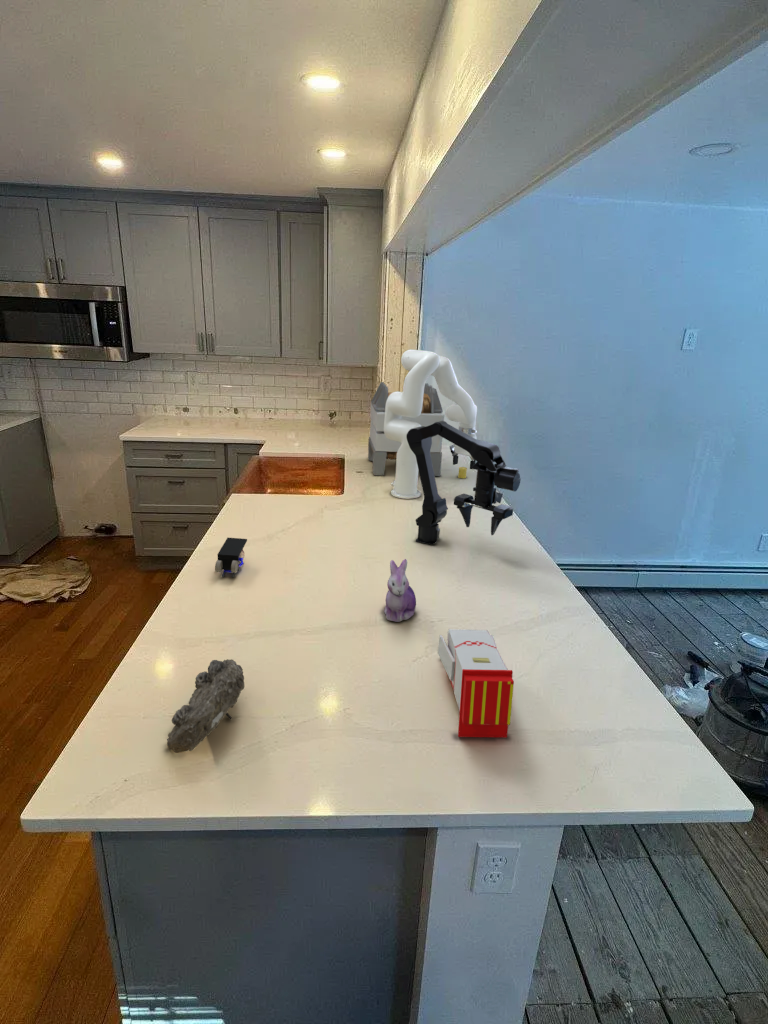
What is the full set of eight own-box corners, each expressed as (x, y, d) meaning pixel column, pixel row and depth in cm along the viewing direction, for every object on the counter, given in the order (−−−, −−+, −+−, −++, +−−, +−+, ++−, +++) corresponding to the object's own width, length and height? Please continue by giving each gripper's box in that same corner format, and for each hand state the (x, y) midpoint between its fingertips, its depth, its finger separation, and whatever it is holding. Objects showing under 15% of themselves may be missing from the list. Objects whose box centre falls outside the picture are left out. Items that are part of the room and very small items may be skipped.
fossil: (192, 660, 117) (244, 628, 112) (224, 691, 120) (276, 661, 115) (142, 746, 98) (202, 712, 93) (182, 779, 101) (242, 748, 96)
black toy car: (238, 584, 162) (249, 557, 175) (236, 562, 158) (247, 536, 172) (215, 584, 161) (227, 556, 175) (212, 561, 158) (225, 535, 171)
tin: (465, 478, 269) (466, 469, 268) (457, 478, 270) (458, 468, 268) (466, 476, 273) (467, 467, 271) (458, 475, 273) (459, 466, 272)
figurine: (392, 627, 141) (395, 572, 136) (374, 608, 149) (376, 556, 144) (425, 619, 145) (429, 566, 140) (405, 601, 154) (408, 550, 149)
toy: (488, 613, 130) (523, 677, 101) (484, 667, 133) (517, 744, 104) (435, 612, 130) (455, 676, 101) (432, 666, 133) (451, 743, 103)
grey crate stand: (367, 457, 298) (369, 379, 284) (428, 458, 302) (433, 380, 288) (373, 475, 266) (376, 388, 253) (441, 476, 270) (448, 390, 256)
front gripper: (524, 486, 177) (518, 532, 182) (473, 473, 188) (469, 517, 194) (506, 493, 169) (500, 541, 174) (454, 479, 180) (450, 525, 186)
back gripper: (487, 433, 260) (483, 468, 266) (456, 426, 271) (453, 461, 277) (477, 435, 255) (474, 471, 261) (446, 428, 266) (444, 464, 272)
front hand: (480, 530), depth 182 cm, fingers open, 9 cm apart
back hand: (463, 466), depth 269 cm, fingers open, 9 cm apart
